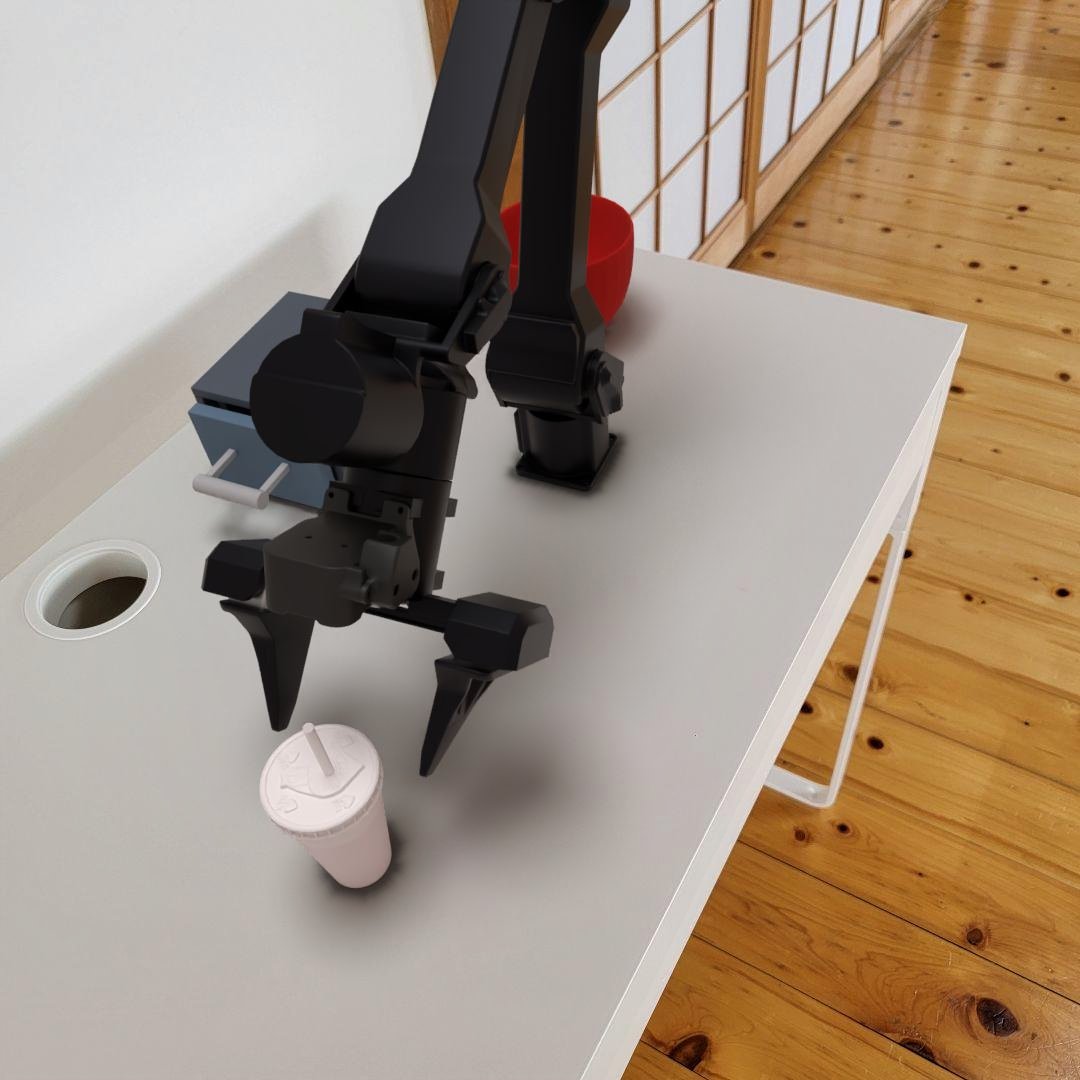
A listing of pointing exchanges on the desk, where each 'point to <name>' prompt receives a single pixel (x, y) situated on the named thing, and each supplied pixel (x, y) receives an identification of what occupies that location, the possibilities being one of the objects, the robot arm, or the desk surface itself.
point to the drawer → (251, 462)
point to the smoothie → (331, 800)
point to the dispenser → (254, 354)
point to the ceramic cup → (592, 252)
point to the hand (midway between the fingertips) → (350, 752)
